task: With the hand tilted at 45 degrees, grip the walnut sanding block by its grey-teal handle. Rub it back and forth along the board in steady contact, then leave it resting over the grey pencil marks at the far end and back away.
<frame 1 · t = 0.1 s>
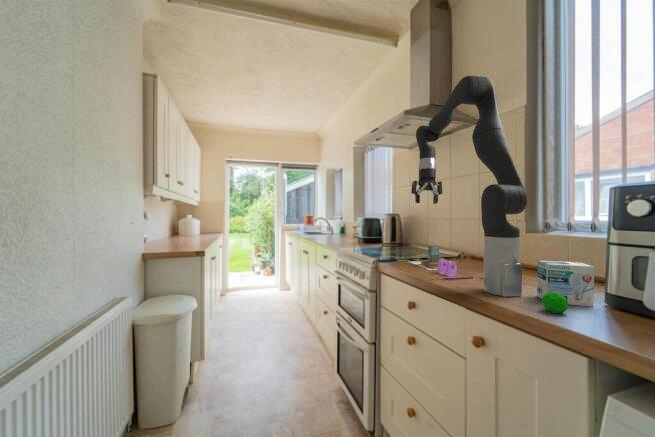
hand: (426, 203, 128), 29 cm above the table, tool pointing down, fingers open, 8 cm apart
bracket: (456, 278, 104), on the table
board: (428, 268, 121), on the table
green lime: (554, 312, 67), on the table
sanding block: (433, 266, 117), point 1 cm above the table, touching board
light bulb box: (563, 302, 76), on the table
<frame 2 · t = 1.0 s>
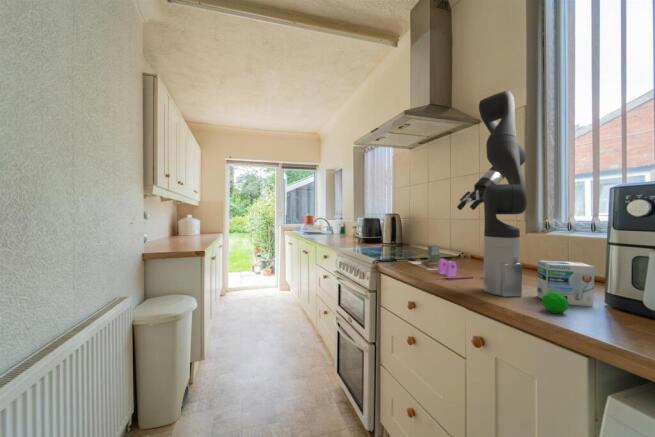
hand: (464, 208, 119), 27 cm above the table, tool tilted 45°, fingers open, 8 cm apart
nothing on the table moved.
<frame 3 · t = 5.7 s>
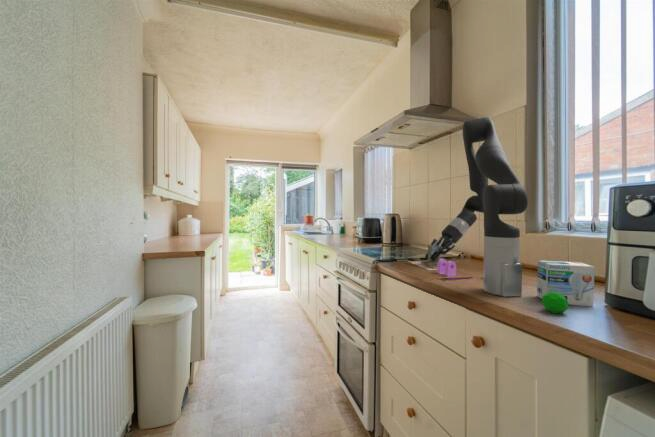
hand: (429, 258, 117), 5 cm above the table, tool tilted 45°, fingers closed on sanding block, 3 cm apart
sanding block: (433, 266, 117), point 2 cm above the table, touching board, gripper
everything else where it was.
when the fingers open (5 cm above the table, at t = 12.0 s): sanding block stays where it is, resting on board.
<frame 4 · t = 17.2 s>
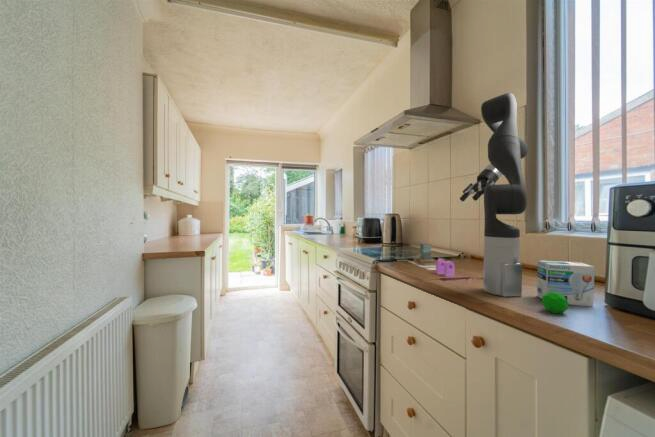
hand: (467, 199, 121), 31 cm above the table, tool tilted 45°, fingers open, 8 cm apart
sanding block: (425, 263, 124), point 2 cm above the table, touching board
everything else where it was.
at the end: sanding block 0.5 cm from the target spot, point 1.5 cm above the table; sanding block tilted 0°; the gripper is holding nothing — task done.
